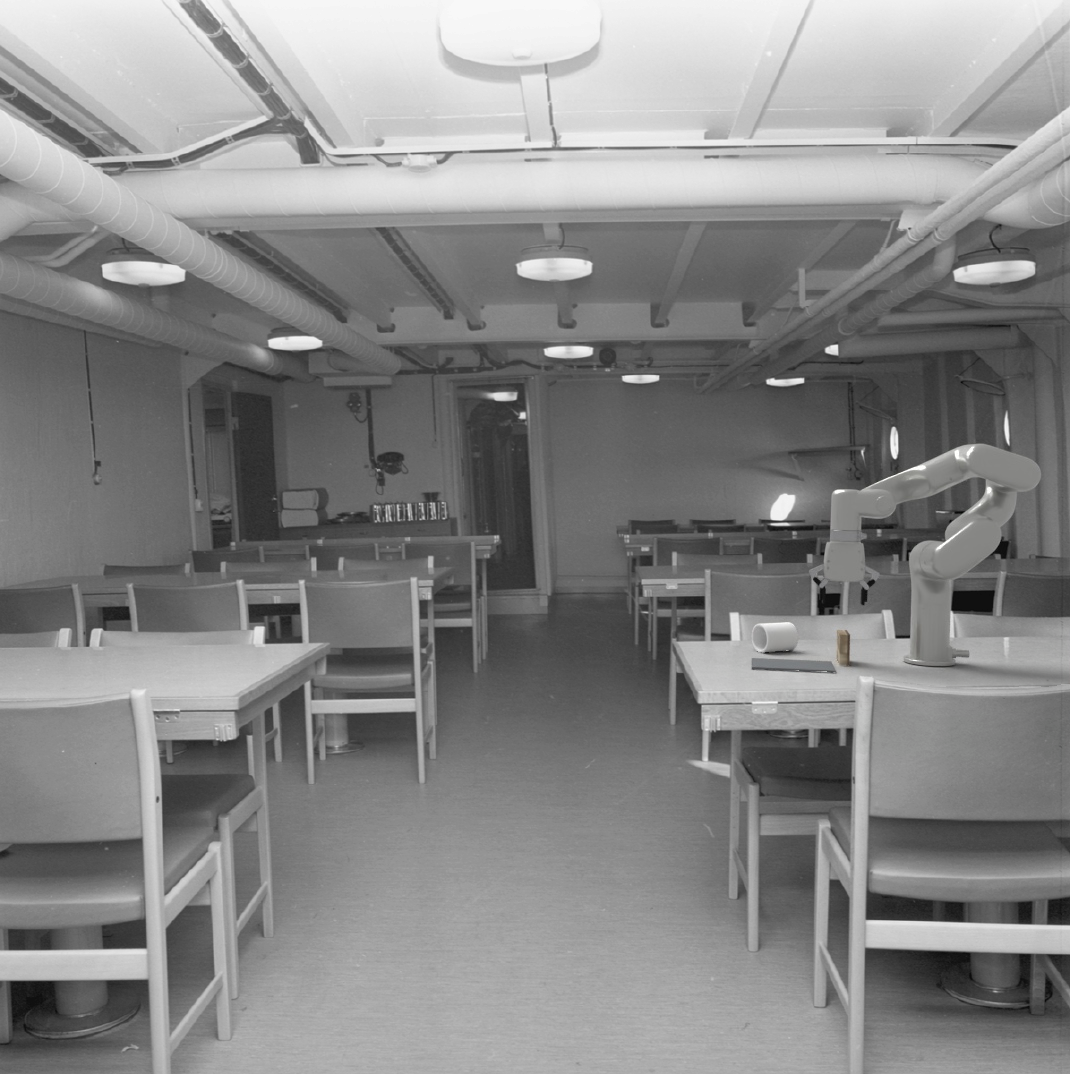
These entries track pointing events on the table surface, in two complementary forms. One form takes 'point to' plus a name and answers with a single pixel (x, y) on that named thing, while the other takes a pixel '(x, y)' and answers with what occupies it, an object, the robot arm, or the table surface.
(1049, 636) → the table surface
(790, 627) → the mug
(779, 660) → the mat
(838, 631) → the tile
